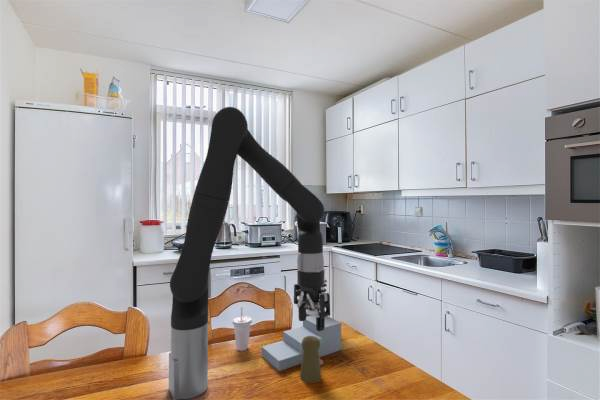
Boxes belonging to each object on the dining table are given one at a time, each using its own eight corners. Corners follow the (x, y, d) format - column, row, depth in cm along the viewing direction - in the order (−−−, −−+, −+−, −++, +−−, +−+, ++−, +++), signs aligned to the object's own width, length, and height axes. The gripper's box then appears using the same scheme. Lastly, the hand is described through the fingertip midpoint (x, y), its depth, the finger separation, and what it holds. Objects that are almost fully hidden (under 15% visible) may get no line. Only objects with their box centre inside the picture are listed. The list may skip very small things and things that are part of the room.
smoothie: (228, 351, 104) (229, 308, 104) (238, 342, 110) (238, 302, 110) (246, 353, 102) (246, 310, 102) (254, 345, 108) (255, 304, 108)
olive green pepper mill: (321, 371, 92) (321, 333, 92) (321, 383, 85) (321, 342, 86) (301, 370, 92) (301, 332, 92) (299, 382, 86) (299, 341, 86)
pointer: (316, 366, 94) (316, 363, 94) (308, 360, 98) (308, 357, 98) (323, 364, 96) (323, 360, 96) (314, 358, 99) (314, 355, 99)
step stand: (279, 371, 91) (279, 340, 91) (261, 355, 101) (261, 327, 101) (341, 350, 105) (341, 323, 105) (321, 338, 114) (321, 313, 114)
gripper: (286, 265, 93) (286, 320, 93) (315, 274, 81) (315, 337, 81) (306, 262, 97) (307, 315, 97) (337, 270, 85) (337, 330, 85)
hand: (311, 325), depth 89 cm, fingers open, 8 cm apart
